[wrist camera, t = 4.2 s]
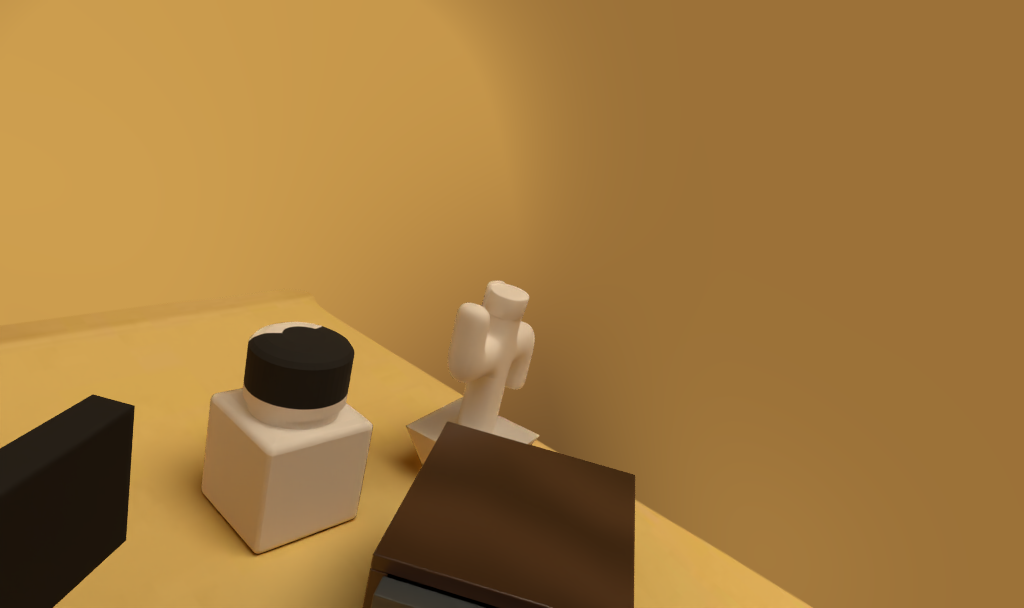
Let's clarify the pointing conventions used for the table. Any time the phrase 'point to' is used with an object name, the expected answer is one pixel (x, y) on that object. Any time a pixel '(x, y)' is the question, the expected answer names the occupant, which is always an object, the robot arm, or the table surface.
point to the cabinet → (512, 526)
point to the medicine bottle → (287, 438)
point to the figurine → (484, 367)
